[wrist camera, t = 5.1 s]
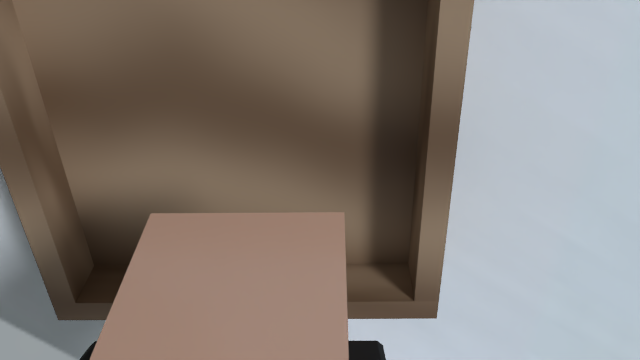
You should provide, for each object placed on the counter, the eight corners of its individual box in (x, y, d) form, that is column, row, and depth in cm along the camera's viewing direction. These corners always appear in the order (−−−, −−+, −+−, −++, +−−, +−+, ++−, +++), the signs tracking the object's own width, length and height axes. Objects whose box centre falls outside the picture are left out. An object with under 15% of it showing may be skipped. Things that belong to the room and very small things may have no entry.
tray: (426, 268, 22) (436, 318, 20) (83, 270, 23) (58, 320, 21) (464, -116, 15) (486, -101, 13) (-39, -104, 16) (-96, -87, 13)
